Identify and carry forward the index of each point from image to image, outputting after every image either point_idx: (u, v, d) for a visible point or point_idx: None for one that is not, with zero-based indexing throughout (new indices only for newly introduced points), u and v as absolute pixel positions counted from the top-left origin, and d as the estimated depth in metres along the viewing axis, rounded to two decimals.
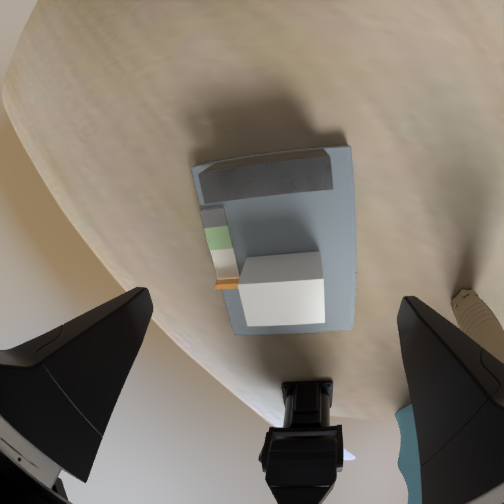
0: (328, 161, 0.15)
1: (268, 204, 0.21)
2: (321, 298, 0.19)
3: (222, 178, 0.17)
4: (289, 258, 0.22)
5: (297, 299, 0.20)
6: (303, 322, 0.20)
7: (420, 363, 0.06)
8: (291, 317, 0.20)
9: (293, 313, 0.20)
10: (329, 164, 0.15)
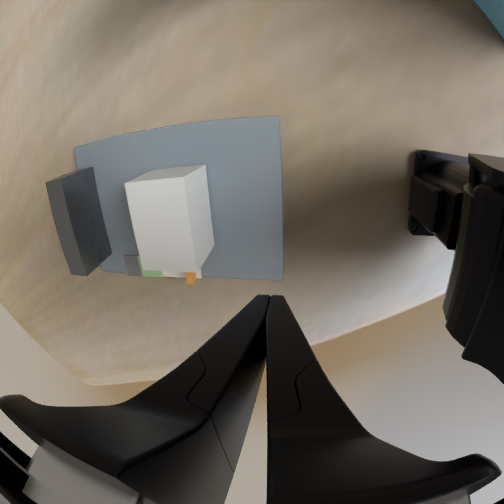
0: (48, 183, 0.16)
1: (119, 216, 0.21)
2: (148, 183, 0.15)
3: (70, 258, 0.19)
4: None
5: (151, 211, 0.16)
6: (184, 205, 0.15)
7: None
8: (177, 219, 0.16)
9: (171, 217, 0.16)
10: (49, 182, 0.16)
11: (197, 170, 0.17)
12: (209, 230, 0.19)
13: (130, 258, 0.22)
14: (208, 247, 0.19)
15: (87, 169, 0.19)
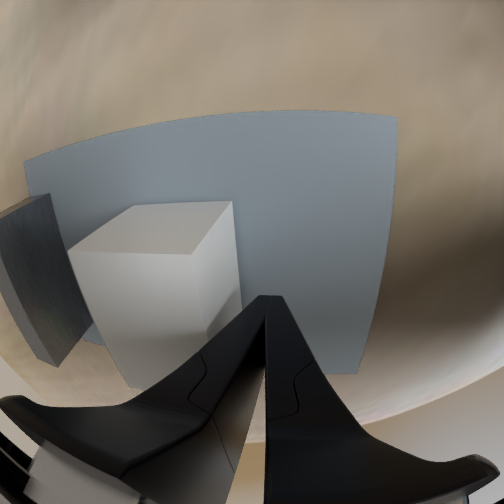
0: None
1: None
2: (110, 258, 0.06)
3: (29, 340, 0.10)
4: None
5: (125, 311, 0.07)
6: (195, 312, 0.07)
7: None
8: (182, 335, 0.07)
9: (168, 328, 0.07)
10: None
11: (219, 220, 0.08)
12: None
13: None
14: None
15: (39, 199, 0.10)
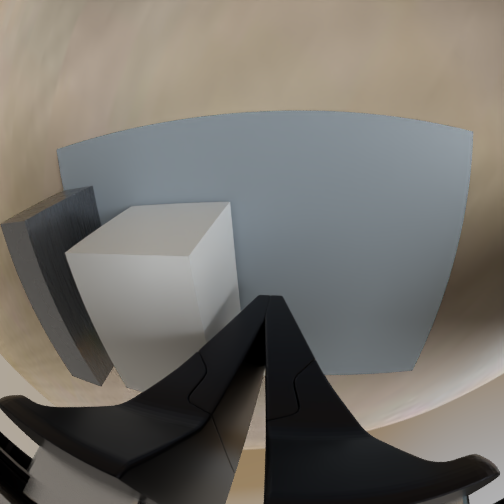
0: (4, 227, 0.07)
1: None
2: (108, 260, 0.06)
3: (66, 357, 0.10)
4: None
5: (123, 313, 0.07)
6: (193, 314, 0.07)
7: None
8: (180, 336, 0.07)
9: (166, 330, 0.07)
10: (6, 225, 0.07)
11: (217, 221, 0.08)
12: None
13: None
14: None
15: (81, 193, 0.10)
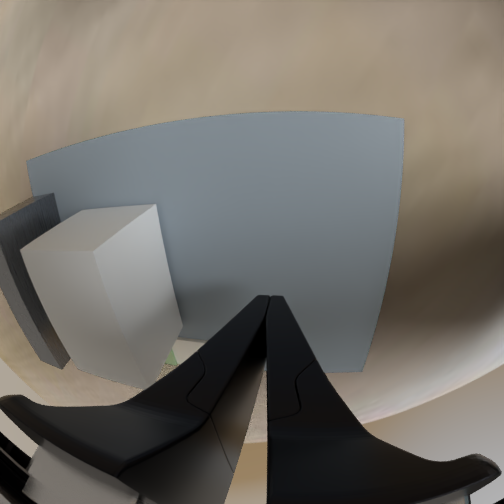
0: None
1: None
2: (45, 255, 0.07)
3: (33, 342, 0.10)
4: None
5: (61, 300, 0.08)
6: (105, 301, 0.07)
7: None
8: (101, 320, 0.08)
9: (91, 314, 0.08)
10: None
11: (134, 222, 0.09)
12: (170, 312, 0.11)
13: None
14: (170, 338, 0.11)
15: (43, 199, 0.10)
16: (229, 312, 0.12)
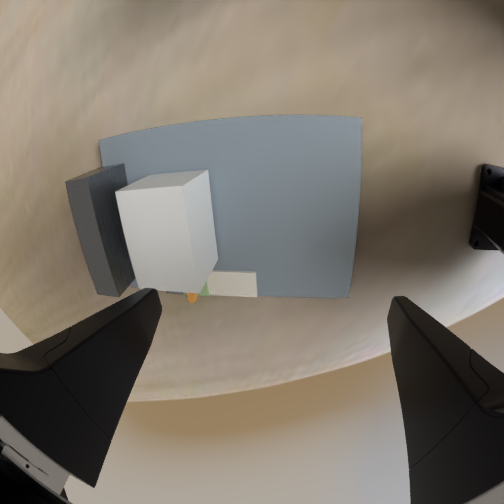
0: (68, 183, 0.14)
1: None
2: (141, 192, 0.13)
3: (96, 276, 0.16)
4: None
5: (145, 224, 0.14)
6: (183, 218, 0.13)
7: (409, 364, 0.06)
8: (176, 234, 0.14)
9: (168, 231, 0.14)
10: (70, 182, 0.14)
11: (198, 176, 0.15)
12: (212, 243, 0.17)
13: None
14: (211, 263, 0.17)
15: (117, 166, 0.16)
16: (252, 245, 0.18)
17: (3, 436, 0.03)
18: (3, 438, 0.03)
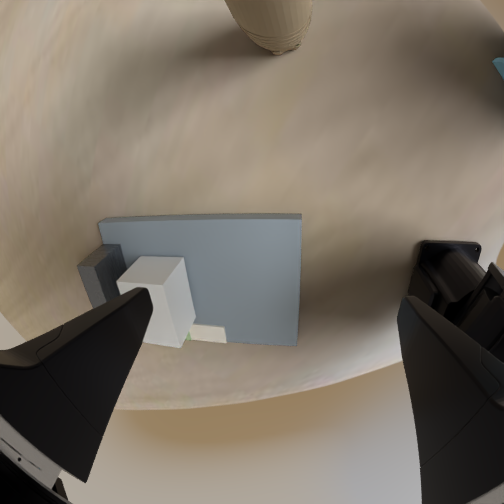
0: (79, 267, 0.19)
1: None
2: (135, 285, 0.18)
3: None
4: None
5: None
6: (165, 304, 0.19)
7: (420, 363, 0.06)
8: (161, 313, 0.19)
9: (156, 310, 0.19)
10: (81, 267, 0.19)
11: (175, 268, 0.20)
12: (190, 309, 0.23)
13: None
14: (189, 322, 0.23)
15: (115, 248, 0.22)
16: (220, 309, 0.24)
17: None
18: None
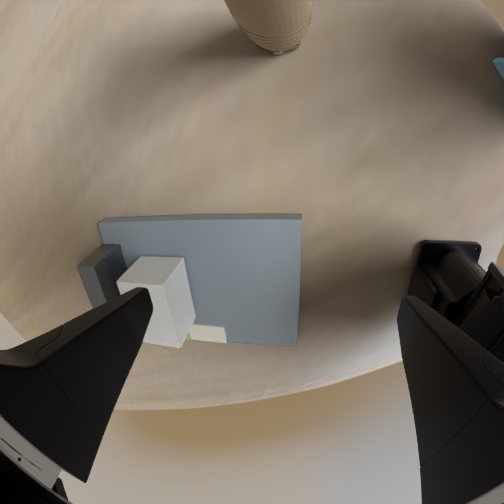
0: (79, 267, 0.19)
1: None
2: (135, 285, 0.18)
3: None
4: None
5: None
6: (165, 304, 0.19)
7: (420, 363, 0.06)
8: (161, 313, 0.19)
9: (156, 310, 0.19)
10: (81, 267, 0.19)
11: (175, 269, 0.20)
12: (190, 309, 0.23)
13: None
14: (190, 323, 0.23)
15: (115, 249, 0.22)
16: (220, 309, 0.24)
17: None
18: None
